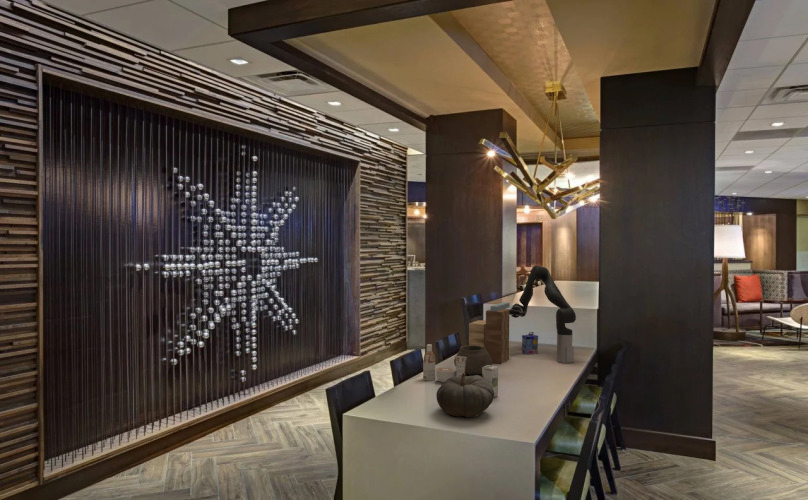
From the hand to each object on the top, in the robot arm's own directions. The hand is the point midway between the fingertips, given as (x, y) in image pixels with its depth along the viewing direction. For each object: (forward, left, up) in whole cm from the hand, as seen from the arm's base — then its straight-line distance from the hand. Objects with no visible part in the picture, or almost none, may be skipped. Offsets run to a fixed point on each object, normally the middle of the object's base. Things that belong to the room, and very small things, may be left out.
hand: (513, 313), depth 352 cm
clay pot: (-23, +52, -29) cm, 64 cm away
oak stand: (+13, +16, -28) cm, 35 cm away
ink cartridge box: (+3, -18, -29) cm, 34 cm away
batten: (-2, +13, +4) cm, 13 cm away
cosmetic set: (-29, +76, -29) cm, 86 cm away
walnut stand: (-4, +17, -28) cm, 33 cm away
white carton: (-63, +74, -28) cm, 101 cm away
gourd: (-77, +100, -29) cm, 130 cm away
